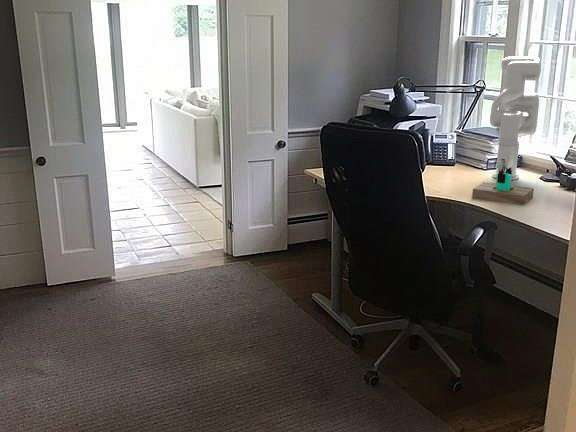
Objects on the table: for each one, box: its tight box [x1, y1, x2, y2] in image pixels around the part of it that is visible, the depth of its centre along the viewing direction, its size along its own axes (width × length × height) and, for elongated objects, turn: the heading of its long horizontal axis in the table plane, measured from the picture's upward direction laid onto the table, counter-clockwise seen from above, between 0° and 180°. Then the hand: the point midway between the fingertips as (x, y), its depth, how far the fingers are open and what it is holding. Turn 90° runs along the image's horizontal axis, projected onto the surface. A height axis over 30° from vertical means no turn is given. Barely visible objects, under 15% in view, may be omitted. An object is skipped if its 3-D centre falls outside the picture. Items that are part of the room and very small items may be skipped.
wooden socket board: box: [471, 181, 535, 206], centre depth 270 cm, size 16×22×4 cm
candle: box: [495, 173, 512, 191], centre depth 269 cm, size 6×6×12 cm
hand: (504, 180), depth 268 cm, fingers open, 9 cm apart
